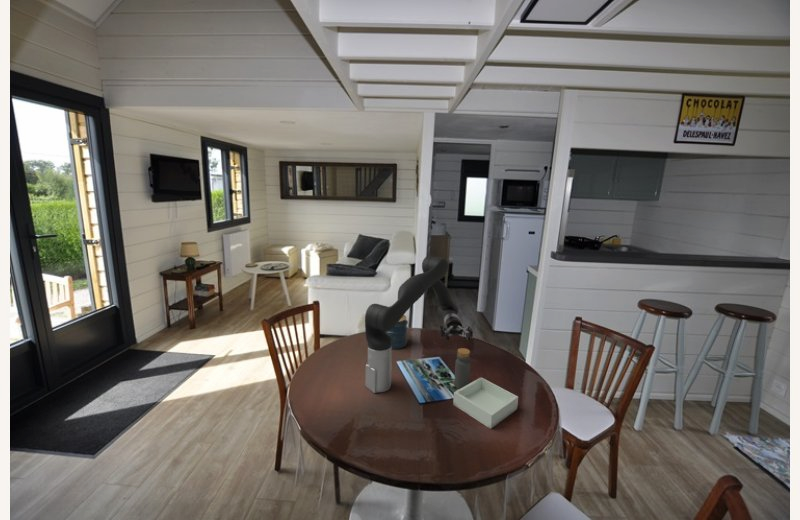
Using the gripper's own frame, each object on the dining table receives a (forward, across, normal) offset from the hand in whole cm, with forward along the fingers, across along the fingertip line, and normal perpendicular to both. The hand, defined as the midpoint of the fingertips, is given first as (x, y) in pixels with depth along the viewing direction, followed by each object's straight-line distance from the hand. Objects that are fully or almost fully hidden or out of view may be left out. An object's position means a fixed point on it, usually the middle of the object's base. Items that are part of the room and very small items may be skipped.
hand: (458, 338), depth 141 cm
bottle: (+12, 0, +14) cm, 19 cm away
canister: (-23, -28, +14) cm, 39 cm away
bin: (+26, +6, +14) cm, 30 cm away
